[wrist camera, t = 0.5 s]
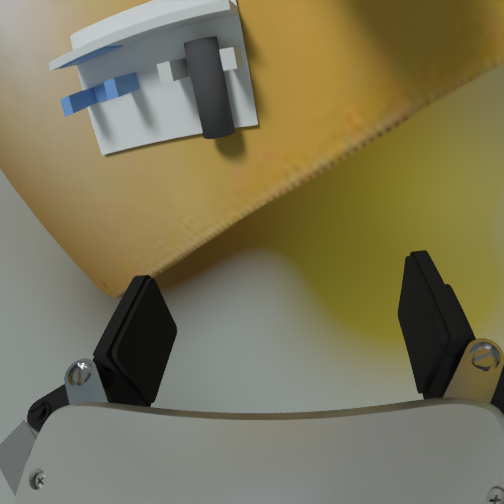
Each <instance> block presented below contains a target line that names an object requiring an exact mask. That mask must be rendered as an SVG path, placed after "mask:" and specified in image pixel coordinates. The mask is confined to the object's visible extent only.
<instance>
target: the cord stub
mask: <svg viewBox="0 0 504 504" xmlns="http://www.w3.org/2000/svg"><path fill="white" fill-rule="evenodd" d="M184 48H185V53H186V58H187V62H188V67H189V72H190V76H191V81H192V86H193V90H194V95H195V100H196V104H197V109H198V113H199V118H200V122H201V127H202V131H203V136H204V138H206V139H214V138H220V137H224V136H228V135H230V134H232V133H234V132H235V127H234V122H233V117H232V111H231V106H230V101H229V96H228V91H227V85H226V80H225V75H224V71H223V67H222V62H221V57H220V51H219V44H218V39H217V36H212V37H206V38H201V39H196V40H192V41H188V42H185V43H184Z"/></svg>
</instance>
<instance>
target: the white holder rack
mask: <svg viewBox="0 0 504 504" xmlns="http://www.w3.org/2000/svg"><path fill="white" fill-rule="evenodd" d="M212 36H217V39H218V44H219V51H220V57H221V62H222V67H223V71H224V75H225V80H226V85H227V91H228V96H229V101H230V106H231V111H232V117H233V122H234V127H235V128H238V127H245V126H253V125H258V118H257V112H256V106H255V100H254V94H253V88H252V83H251V77H250V71H249V65H248V60H247V54H246V49H245V43H244V38H243V32H242V27H241V22H240V16H239V11H238V6H237V1H236V0H154V1H151V2H148V3H145V4H142V5H139V6H136V7H134V8H131V9H128V10H126V11H123V12H121V13H118V14H116V15H113V16H111V17H108V18H106V19H104V20H101V21H99V22H97V23H95V24H92V25H90V26H88V27H86V28H84V29H82V30H80V31H78V32H76V33H74V34H72V35H70V38H71V43H72V47H73V51H71V52H69V53H67V54H65V55H63V56H61V57H59V58H57V59H55V60H53V61H51V62H49V67H50V71H53V70H57V69H61V68H65V67H69V66H73V65H77V69H78V73H79V77H80V81H81V85H82V89H83V91H80V92H78V93H75V94H72V95H70V96H67V97H65V98H63V99H61V103H62V107H63V110H64V114H65V117H66V116H68V115H70V114H73V113H75V112H77V111H80V110H82V109H84V108H86V107H88V111H89V114H90V118H91V121H92V125H93V128H94V131H95V134H96V138H97V141H98V144H99V147H100V150H101V153H102V155H105V154H109V153H112V152H116V151H120V150H124V149H128V148H132V147H137V146H141V145H145V144H150V143H154V142H159V141H164V140H168V139H173V138H178V137H184V136H189V135H194V134H200V133H203V131H202V127H201V122H200V118H199V113H198V109H197V104H196V100H195V95H194V90H193V86H192V81H191V76H190V72H189V67H188V62H187V58H186V53H185V48H184V43H185V42H188V41H192V40H196V39H201V38H206V37H212Z"/></svg>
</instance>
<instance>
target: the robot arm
mask: <svg viewBox="0 0 504 504" xmlns="http://www.w3.org/2000/svg"><path fill="white" fill-rule="evenodd" d="M398 319H399V323H400V326H401V329H402V333H403V336H404V340H405V343H406V347H407V351H408V354H409V358H410V362H411V366H412V370H413V374H414V378H415V382H416V387H417V391H418V393H419V394H420V393H423V398H424V400H416V401H409V402H402V403H395V404H387V405H379V406H370V407H362V408H353V409H342V410H330V411H316V412H298V413H297V412H295V413H219V412H199V411H184V410H172V409H161V408H152V407H150V406H151V403H153V402H154V401H155V399H156V396H157V393H158V390H159V387H160V383H161V380H162V377H163V374H164V371H165V368H166V365H167V362H168V359H169V356H170V352H171V350H172V347H173V343H174V341H175V338H176V335H177V327H176V324H175V322H174V320H173V318H172V316H171V314H170V312H169V310H168V307H167V305H166V303H165V301H164V299H163V296H162V294H161V292H160V290H159V288H158V285H157V283H156V281H155V280H154V279H153V278H151V277H150V276H149V275H142V276H135V277H134V278H133V279H132V281H131V283H130V285H129V287H128V288H127V290H126V292H125V294H124V296H123V297H122V299H121V301H120V303H119V305H118V307H117V308H116V310H115V312H114V314H113V316H112V318H111V320H110V321H109V324H108V325H107V328H106V329H105V331H104V333H103V335H102V337H101V339H100V341H99V343H98V345H97V347H96V349H95V351H94V353H93V355H94V359H93V361H92V360H90V359H87V358H85V359H80V360H77V361H76V362H74V363H73V364H72V365H71V366H70V367H69V368H68V370H67V371H66V373H65V377H64V378H65V379H64V380H65V384H64V385H62V386H61V387H59V388H57V389H56V390H54V391H52V392H51V393H49V394H47V395H46V396H44V397H42V398H41V399H39V400H37V401H36V402H35V403H34V404H33V405H32V406H31V407H30V409H29V411H28V416H27V422H25V421H23V422H22V423H21V424H20V425H19V426H18V427H17V428H16V429H15V430H14V431H13V432H12V433H11V434H10V435H9V436H8V437H7V438H6V439H5V440H4V441H3V442H2V443H1V444H0V468H1V470H2V473H3V475H4V476H5V478H6V480H7V482H8V484H9V486H10V488H11V489H12V491H13V493H14V494H15V500H14V504H504V354H503V351H502V349H501V348H500V347H499V345H497V344H496V343H495V342H493V341H492V340H489V339H485V338H482V339H481V338H480V339H476V338H475V336H474V333H473V331H472V329H471V327H470V324H469V322H468V320H467V318H466V316H465V314H464V312H463V309H462V308H461V305H460V303H459V301H458V299H457V297H456V295H455V293H454V291H453V289H452V288H451V286H450V285H449V284H444V282H443V280H442V278H441V276H440V274H439V272H438V271H437V268H436V267H435V265H434V263H433V261H432V259H431V257H430V256H429V254H428V252H427V251H426V250H423V251H415V252H411V253H410V256H407V257H406V259H405V267H404V274H403V282H402V289H401V295H400V301H399V308H398ZM490 489H491V490H490Z"/></svg>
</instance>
